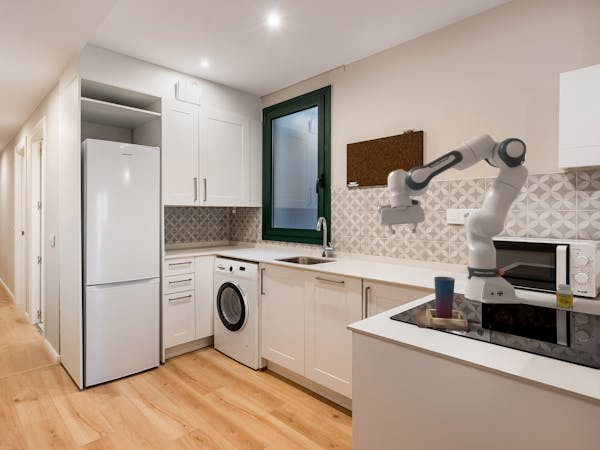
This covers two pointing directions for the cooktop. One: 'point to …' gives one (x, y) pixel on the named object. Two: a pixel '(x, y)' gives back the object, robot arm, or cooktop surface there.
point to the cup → (444, 296)
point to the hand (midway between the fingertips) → (403, 233)
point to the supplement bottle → (564, 297)
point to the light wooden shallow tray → (440, 320)
